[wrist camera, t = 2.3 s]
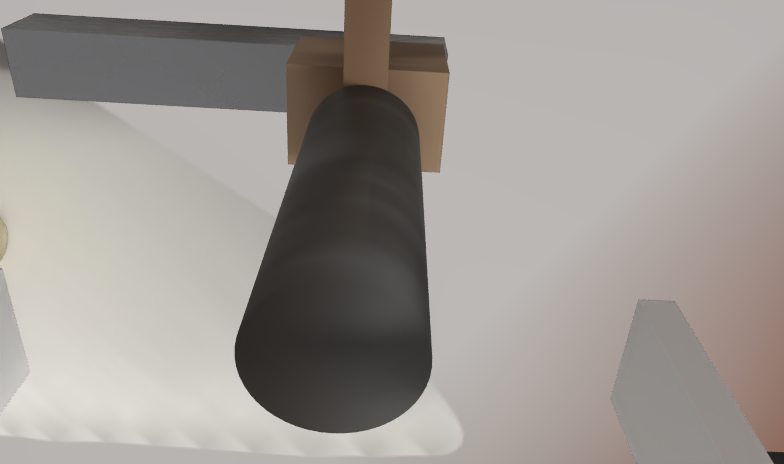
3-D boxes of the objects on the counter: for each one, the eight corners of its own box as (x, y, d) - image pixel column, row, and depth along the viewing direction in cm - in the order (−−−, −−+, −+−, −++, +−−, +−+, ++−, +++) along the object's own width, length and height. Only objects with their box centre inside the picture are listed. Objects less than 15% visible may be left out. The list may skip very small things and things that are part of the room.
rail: (444, 37, 32) (447, 54, 29) (438, 99, 33) (441, 121, 31) (34, 13, 32) (1, 28, 29) (46, 76, 33) (16, 96, 30)
